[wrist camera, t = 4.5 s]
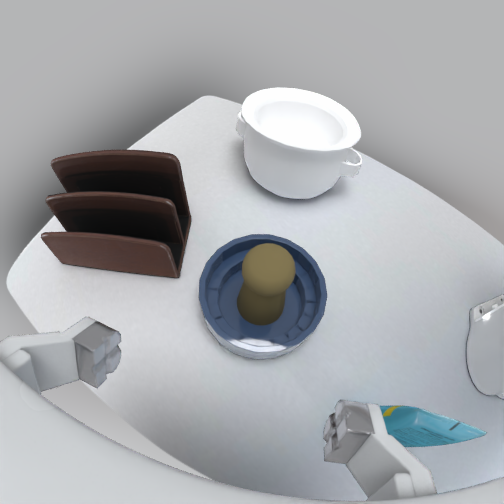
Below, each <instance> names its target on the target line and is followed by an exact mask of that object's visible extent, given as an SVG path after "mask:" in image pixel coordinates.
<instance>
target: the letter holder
mask: <svg viewBox="0 0 504 504" xmlns="http://www.w3.org/2000/svg"><path fill="white" fill-rule="evenodd" d="M51 166H52V169H53V170H54V172H55V173H56V175H57V177H58V178H59V180H60V182H61V183H62V185H63V187H64V188H65V190H66V191H67V193H61V194H55V195H49V196H48V197H47V198H46V203H47V205H48V207H49V208H50V209H51V211H52V212H53V214H54V215H55V216H56V217H57V219H58V220H59V222H60V223H61V224H62V226H63V227H64V228H65V230H66V231H67V232H45V233H43V234H41V238H42V240H43V242H44V243H45V244H46V245H47V246H48V248H49V249H50V250H51V251H52V252H53V254H54V255H55V256H56V257H57V258H58V260H60V262H61V263H63V264H69V265H70V264H71V265H76V266H77V265H78V266H85V267H91V268H99V269H106V270H114V271H121V272H129V273H137V274H147V275H156V276H166V277H174V278H179V276H180V271H181V265H182V260H183V256H184V251H185V246H186V242H187V237H188V233H189V228H190V224H191V215H190V211H189V206H188V201H187V196H186V191H185V187H184V182H183V176H182V170H181V166H180V162H179V160H178V158H177V157H176V156H175V155H173V154H170V153H164V152H154V151H143V150H104V151H92V152H83V153H78V154H71V155H66V156H62V157H58V158H55V159H53V160H52V161H51Z"/></svg>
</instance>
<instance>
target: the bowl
mask: <svg viewBox="0 0 504 504" xmlns="http://www.w3.org/2000/svg"><path fill="white" fill-rule="evenodd" d="M264 243H273V244H276V245H280V246H281V247H283V248H284V249H286V250H287V251H288V252H289V253H290V254H291V256H292V258H293V260H294V262H295V272H296V273H295V276H294V280H293V282H292V283H291V285H290V286H289V288H288V289H286V294H285V305H284V309H283V313H282V314H281V316H280V317H279V319H277V320H276V321H275V322H273V323H271V324H268V325H254V324H251V323H249V322H248V321H246V320H245V319H243V317H242V316H241V315H240V313H239V311H238V308H237V297H238V294H239V292H240V289H241V287H242V284H243V282H244V279H243V276H242V263H243V260H244V257H245V256H246V254H247V253H248V252H249V251H250V250H251V249H252V248H254V247H255V246H257V245H260V244H264ZM326 300H327V291H326V284H325V278H324V276H323V274H322V272H321V270H320V268H319V266H318V264H317V262H316V261H315V260H314V259H313V258H312V257H311V256H310V255H309V254H308V253H307V252H306V251H305V250H304V249H303V248H302V247H300V246H298V245H297V244H295V243H293V242H291V241H290V240H288V239H285V238H281V237H277V236H274V235H270V234H252V235H248V236H244V237H241V238H237V239H234V240H232V241H230V242H229V243H227V244H225V245H224V246H222V247H221V248H219V249H218V250H217V251H216V252H215V253H214V255H213V256H212V257H211V258H210V259H209V260H208V262H207V263H206V265H205V267H204V270H203V272H202V275H201V277H200V282H199V301H200V304H201V307H202V311H203V314H204V317H205V320H206V323H207V326H208V328H209V330H210V331H211V333H212V334H213V335H214V337H215V338H216V339H217V341H218V342H219V343H220V344H221V345H223V346H224V347H226V348H227V349H229V350H230V351H232V352H233V353H235V354H237V355H241V356H244V357H247V358H251V359H273V358H276V357H279V356H282V355H284V354H287V353H289V352H291V351H293V350H294V349H295V348H296V347H297V346H299V345H300V344H301V343H302V342H303V341H305V340H306V339H307V338H308V337H309V336H310V335H311V334H312V333H313V332H314V331H315V329H316V327H317V325H318V324H319V322H320V320H321V319H322V317H323V315H324V311H325V306H326Z"/></svg>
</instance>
